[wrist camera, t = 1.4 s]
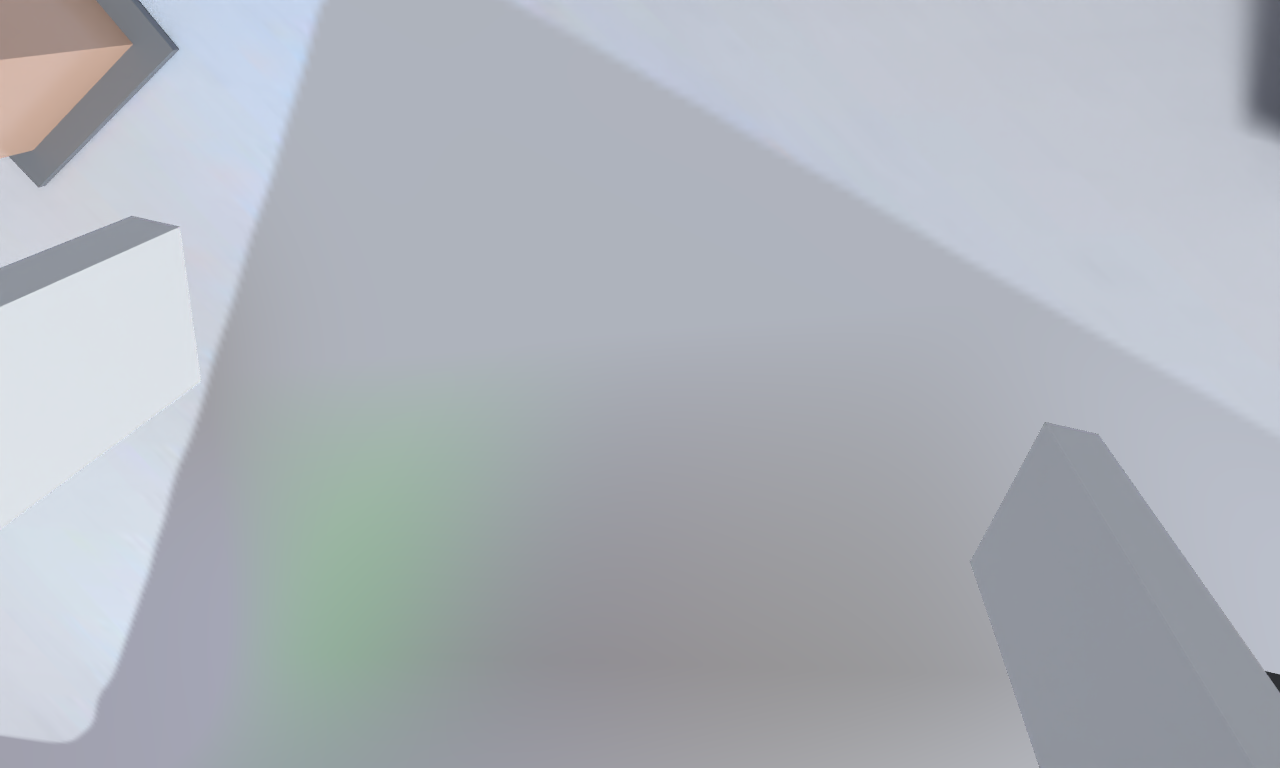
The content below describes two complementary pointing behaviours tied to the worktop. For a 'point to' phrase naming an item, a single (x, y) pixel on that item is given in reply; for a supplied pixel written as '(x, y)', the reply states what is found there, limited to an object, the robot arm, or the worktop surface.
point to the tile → (50, 64)
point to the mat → (102, 91)
